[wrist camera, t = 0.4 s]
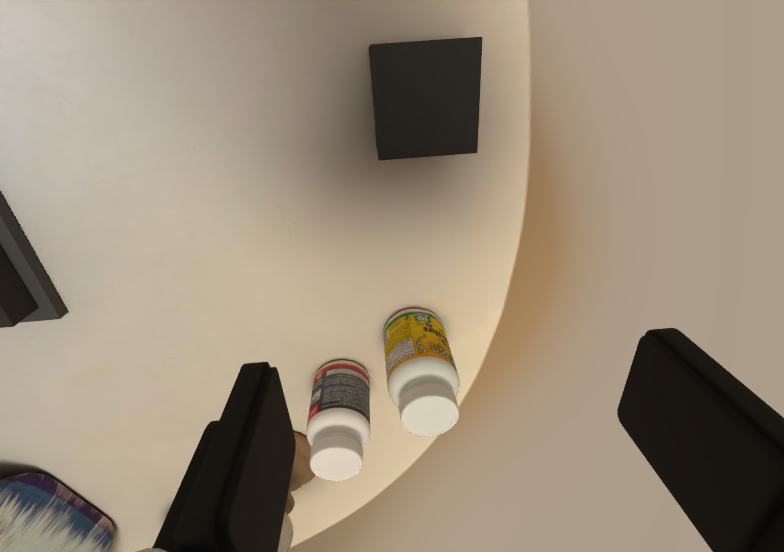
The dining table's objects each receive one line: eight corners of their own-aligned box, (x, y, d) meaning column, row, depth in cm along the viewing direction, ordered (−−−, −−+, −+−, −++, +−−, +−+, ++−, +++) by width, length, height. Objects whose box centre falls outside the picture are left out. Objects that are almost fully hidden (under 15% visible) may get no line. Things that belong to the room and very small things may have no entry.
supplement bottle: (371, 329, 34) (373, 415, 26) (418, 295, 33) (437, 374, 24) (408, 363, 36) (421, 454, 28) (454, 333, 35) (483, 418, 26)
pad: (368, 47, 24) (369, 44, 20) (465, 40, 24) (482, 36, 20) (376, 147, 27) (378, 160, 23) (462, 141, 27) (477, 153, 23)
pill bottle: (314, 357, 35) (300, 440, 27) (371, 359, 36) (373, 441, 28) (314, 399, 38) (300, 486, 30) (367, 400, 38) (368, 486, 31)
